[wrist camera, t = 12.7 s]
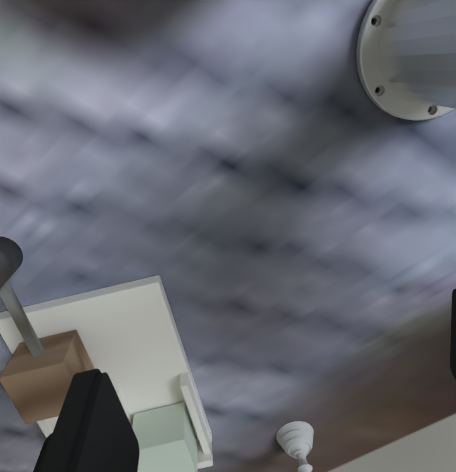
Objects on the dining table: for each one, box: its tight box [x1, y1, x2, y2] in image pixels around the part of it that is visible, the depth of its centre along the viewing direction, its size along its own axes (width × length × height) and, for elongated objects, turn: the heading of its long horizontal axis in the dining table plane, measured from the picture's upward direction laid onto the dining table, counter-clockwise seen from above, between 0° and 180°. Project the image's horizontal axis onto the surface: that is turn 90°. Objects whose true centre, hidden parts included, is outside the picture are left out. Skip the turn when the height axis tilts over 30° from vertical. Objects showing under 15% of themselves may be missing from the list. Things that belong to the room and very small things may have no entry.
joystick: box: [0, 237, 94, 424], centre depth 37 cm, size 18×6×6 cm, turn 12°
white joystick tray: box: [0, 275, 213, 472], centre depth 43 cm, size 24×17×7 cm
